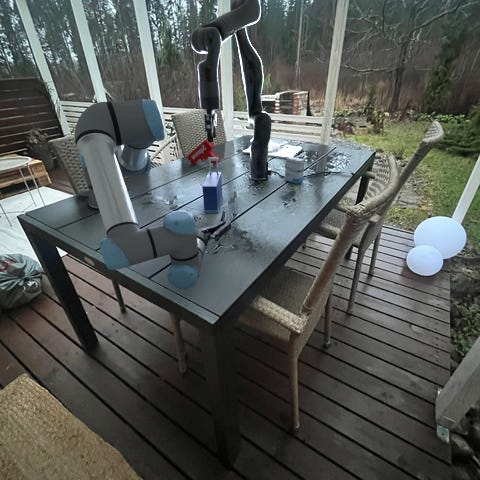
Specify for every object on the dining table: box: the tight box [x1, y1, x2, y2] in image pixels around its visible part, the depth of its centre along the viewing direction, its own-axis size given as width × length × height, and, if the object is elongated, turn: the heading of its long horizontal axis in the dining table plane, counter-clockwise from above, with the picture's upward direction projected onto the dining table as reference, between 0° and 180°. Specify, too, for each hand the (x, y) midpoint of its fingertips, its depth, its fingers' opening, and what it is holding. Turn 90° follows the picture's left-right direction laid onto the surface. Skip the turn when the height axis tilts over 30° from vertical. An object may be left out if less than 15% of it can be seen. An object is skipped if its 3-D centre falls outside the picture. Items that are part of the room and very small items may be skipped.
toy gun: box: [186, 139, 221, 167], centre depth 167 cm, size 18×4×15 cm
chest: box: [202, 176, 223, 214], centre depth 117 cm, size 16×6×11 cm, turn 177°
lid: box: [201, 156, 222, 190], centre depth 112 cm, size 17×6×9 cm, turn 177°
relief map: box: [242, 138, 304, 160], centre depth 192 cm, size 27×35×5 cm
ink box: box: [284, 156, 306, 185], centre depth 140 cm, size 8×5×12 cm, turn 47°
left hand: (205, 213), depth 99 cm, fingers open, 13 cm apart
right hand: (212, 139), depth 110 cm, fingers open, 8 cm apart
